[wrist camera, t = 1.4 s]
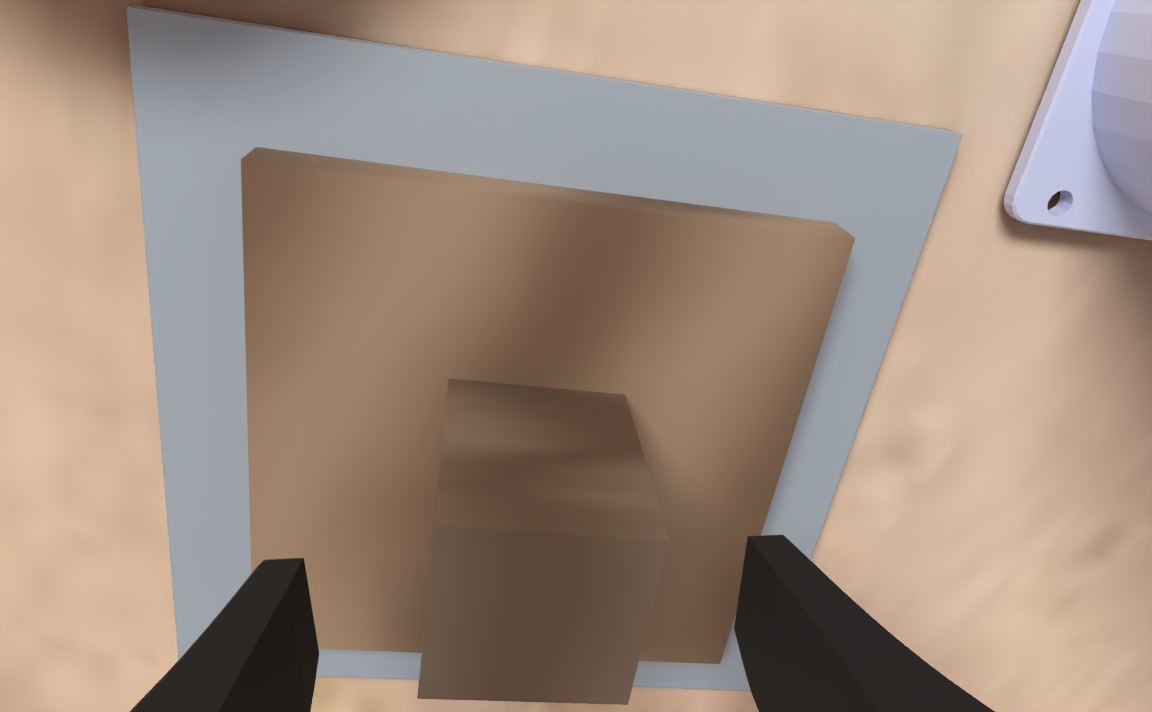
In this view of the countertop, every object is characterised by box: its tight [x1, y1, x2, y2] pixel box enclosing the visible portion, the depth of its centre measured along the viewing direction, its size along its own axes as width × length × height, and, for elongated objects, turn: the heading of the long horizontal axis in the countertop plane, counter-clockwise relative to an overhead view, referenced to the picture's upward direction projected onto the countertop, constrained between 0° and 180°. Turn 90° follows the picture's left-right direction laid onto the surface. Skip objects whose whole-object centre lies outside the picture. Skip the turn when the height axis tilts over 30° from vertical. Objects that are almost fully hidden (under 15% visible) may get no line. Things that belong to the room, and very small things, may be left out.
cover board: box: [241, 147, 855, 705], centre depth 15 cm, size 11×11×6 cm
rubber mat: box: [126, 5, 962, 691], centre depth 18 cm, size 15×15×1 cm
